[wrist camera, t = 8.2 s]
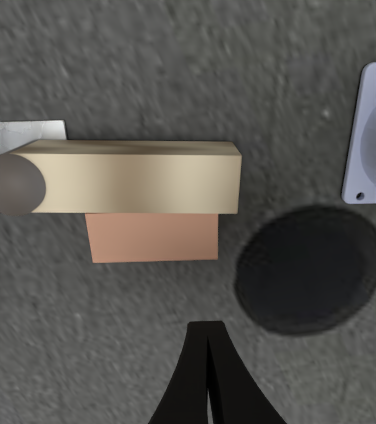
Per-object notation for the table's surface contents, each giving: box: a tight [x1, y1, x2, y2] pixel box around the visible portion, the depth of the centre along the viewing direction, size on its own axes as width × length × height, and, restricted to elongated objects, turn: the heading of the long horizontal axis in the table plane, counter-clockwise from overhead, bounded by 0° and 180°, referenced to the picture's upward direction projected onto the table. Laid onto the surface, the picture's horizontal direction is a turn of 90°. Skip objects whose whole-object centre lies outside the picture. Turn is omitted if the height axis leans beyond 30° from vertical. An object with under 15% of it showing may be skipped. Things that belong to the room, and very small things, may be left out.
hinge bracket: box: [0, 120, 68, 154], centre depth 17 cm, size 6×5×4 cm
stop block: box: [85, 213, 218, 263], centre depth 19 cm, size 7×3×4 cm, turn 92°
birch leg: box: [0, 140, 242, 216], centre depth 17 cm, size 12×3×4 cm, turn 89°
